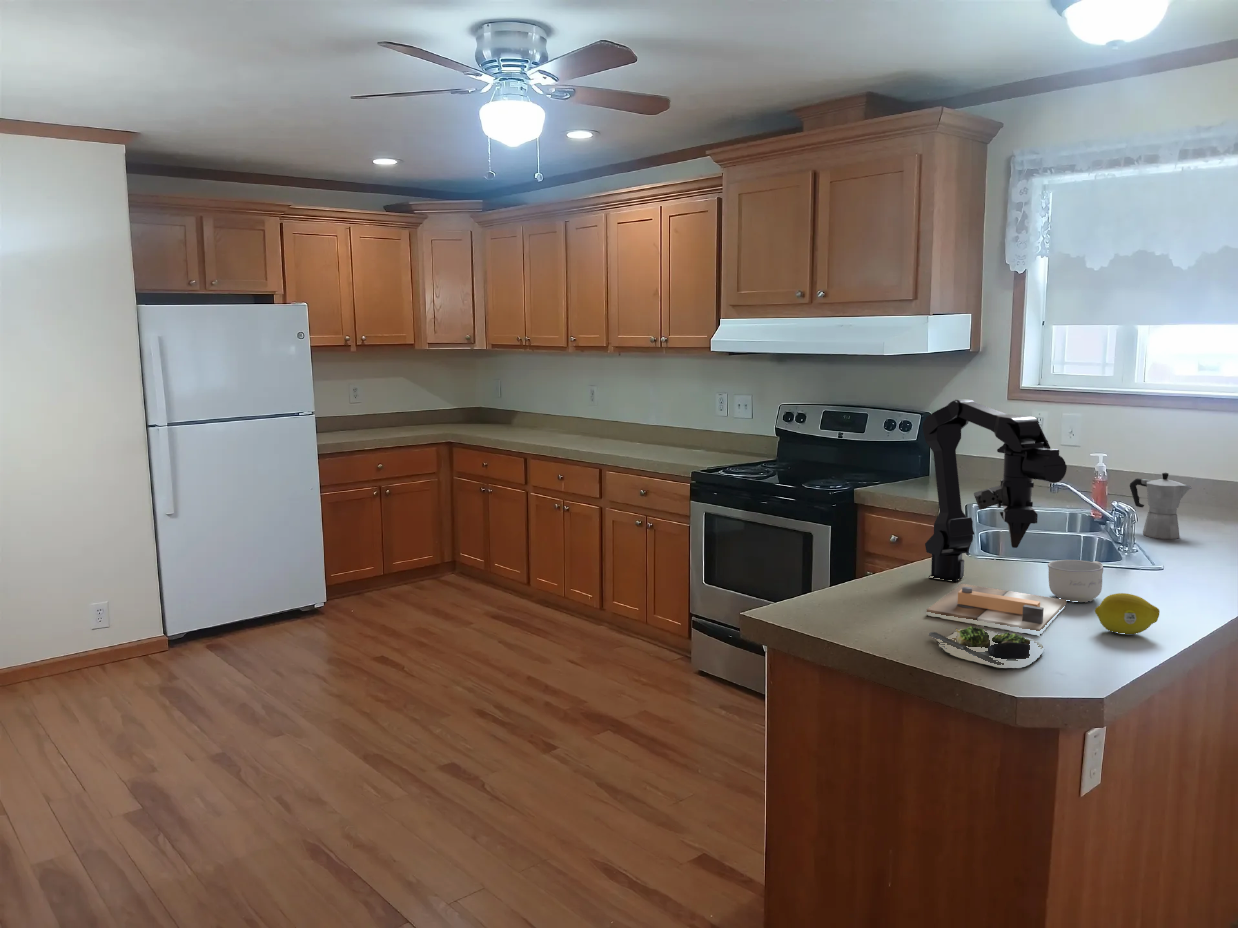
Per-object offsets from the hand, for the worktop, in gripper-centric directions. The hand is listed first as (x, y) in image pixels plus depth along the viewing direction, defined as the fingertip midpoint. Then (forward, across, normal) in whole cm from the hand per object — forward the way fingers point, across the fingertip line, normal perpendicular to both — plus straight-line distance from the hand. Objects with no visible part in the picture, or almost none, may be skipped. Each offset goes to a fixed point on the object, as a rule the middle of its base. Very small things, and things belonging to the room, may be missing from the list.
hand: (1014, 547), depth 193 cm
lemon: (+13, +15, +19) cm, 28 cm away
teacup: (+13, -8, +14) cm, 21 cm away
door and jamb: (+12, +7, -4) cm, 15 cm away
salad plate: (+13, +33, -7) cm, 36 cm away
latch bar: (+11, +11, -4) cm, 16 cm away
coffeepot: (+13, -78, +46) cm, 91 cm away
